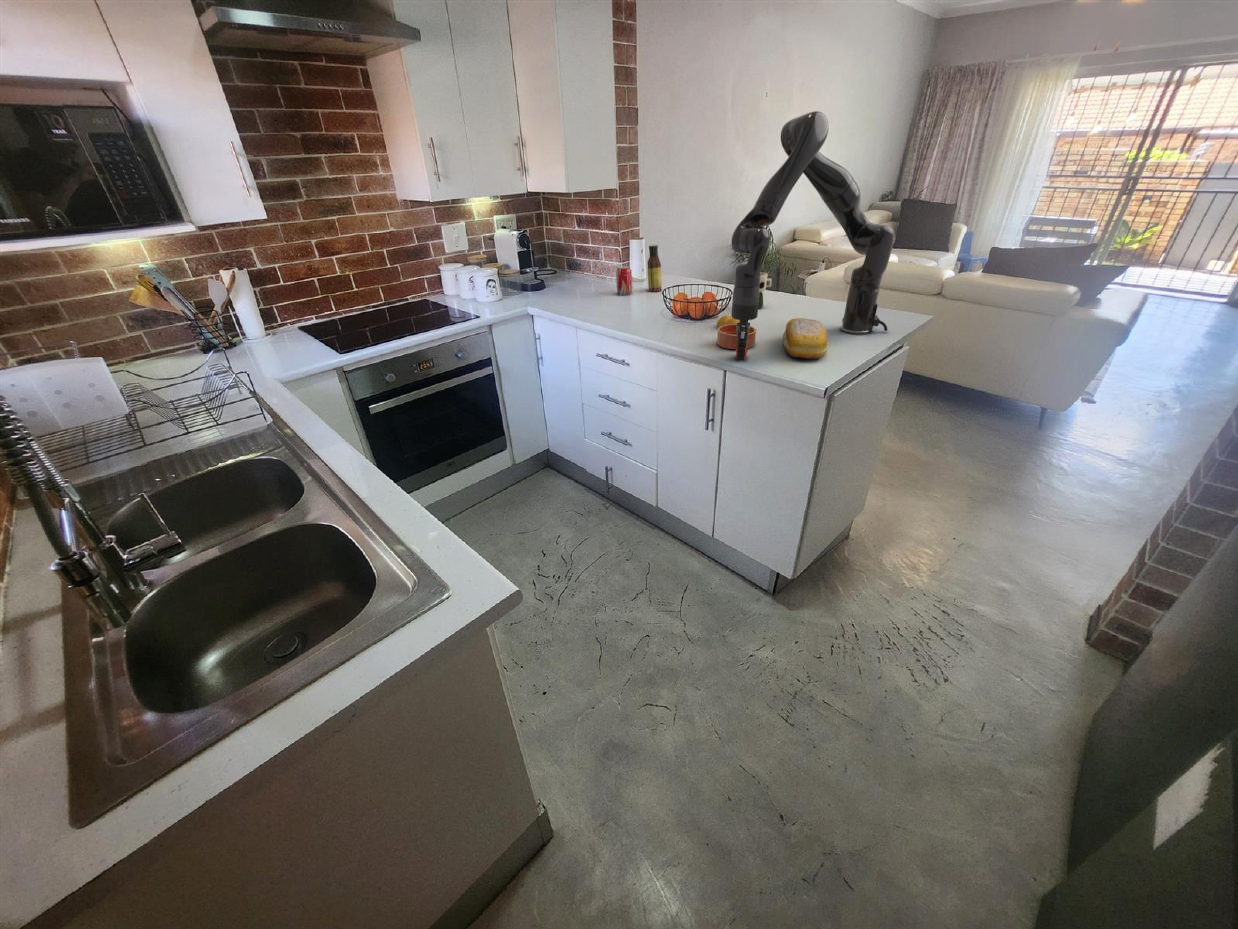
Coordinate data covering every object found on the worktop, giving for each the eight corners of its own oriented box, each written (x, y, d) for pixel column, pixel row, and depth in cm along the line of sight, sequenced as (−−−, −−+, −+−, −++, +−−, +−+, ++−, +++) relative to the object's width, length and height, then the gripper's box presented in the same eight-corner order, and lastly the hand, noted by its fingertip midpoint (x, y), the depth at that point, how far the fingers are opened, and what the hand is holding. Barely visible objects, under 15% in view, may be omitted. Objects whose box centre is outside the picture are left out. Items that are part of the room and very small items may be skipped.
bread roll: (732, 332, 178) (733, 321, 176) (713, 327, 184) (713, 316, 182) (747, 327, 183) (748, 316, 181) (727, 322, 189) (728, 311, 187)
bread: (784, 361, 152) (788, 335, 148) (778, 334, 174) (781, 311, 170) (831, 363, 149) (836, 336, 145) (819, 335, 171) (823, 311, 167)
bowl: (754, 339, 171) (756, 324, 168) (754, 351, 161) (755, 335, 158) (718, 338, 174) (719, 323, 171) (715, 349, 164) (716, 334, 161)
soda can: (615, 293, 237) (613, 266, 231) (629, 291, 239) (628, 264, 232) (619, 296, 231) (618, 268, 225) (634, 294, 233) (633, 267, 226)
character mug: (741, 309, 203) (744, 276, 196) (741, 305, 209) (743, 272, 202) (769, 309, 201) (773, 275, 194) (768, 305, 207) (771, 272, 200)
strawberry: (746, 356, 157) (747, 343, 155) (746, 360, 154) (747, 346, 152) (735, 356, 158) (736, 343, 156) (734, 359, 155) (735, 346, 153)
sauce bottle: (664, 289, 238) (664, 244, 228) (657, 292, 234) (657, 246, 224) (651, 288, 242) (651, 243, 231) (645, 291, 237) (644, 245, 227)
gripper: (758, 307, 141) (753, 366, 150) (758, 295, 152) (753, 350, 161) (731, 307, 142) (727, 365, 151) (733, 295, 154) (729, 349, 163)
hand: (740, 357), depth 156 cm, fingers closed on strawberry, 3 cm apart
